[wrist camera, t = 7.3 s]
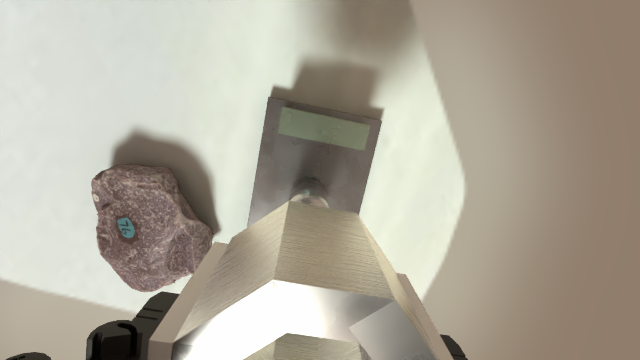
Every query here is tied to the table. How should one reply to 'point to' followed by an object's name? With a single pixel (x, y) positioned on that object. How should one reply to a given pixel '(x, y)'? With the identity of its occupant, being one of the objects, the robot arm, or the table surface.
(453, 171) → the table surface
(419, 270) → the table surface
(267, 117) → the stand
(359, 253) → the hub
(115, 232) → the rock
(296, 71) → the table surface
